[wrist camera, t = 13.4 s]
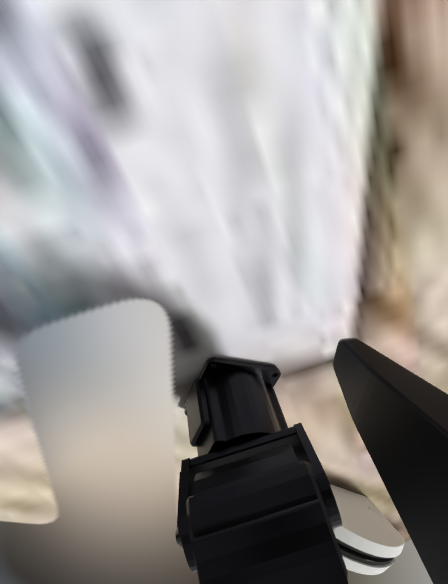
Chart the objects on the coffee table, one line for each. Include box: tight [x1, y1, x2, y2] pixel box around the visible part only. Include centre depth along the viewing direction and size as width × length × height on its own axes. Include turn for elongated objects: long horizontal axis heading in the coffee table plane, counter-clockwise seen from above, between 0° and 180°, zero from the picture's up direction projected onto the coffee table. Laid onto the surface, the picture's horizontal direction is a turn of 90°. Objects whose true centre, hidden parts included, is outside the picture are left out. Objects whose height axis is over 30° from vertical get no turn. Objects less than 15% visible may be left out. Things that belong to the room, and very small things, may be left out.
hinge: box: [330, 484, 405, 575], centre depth 40 cm, size 17×5×10 cm, turn 48°
